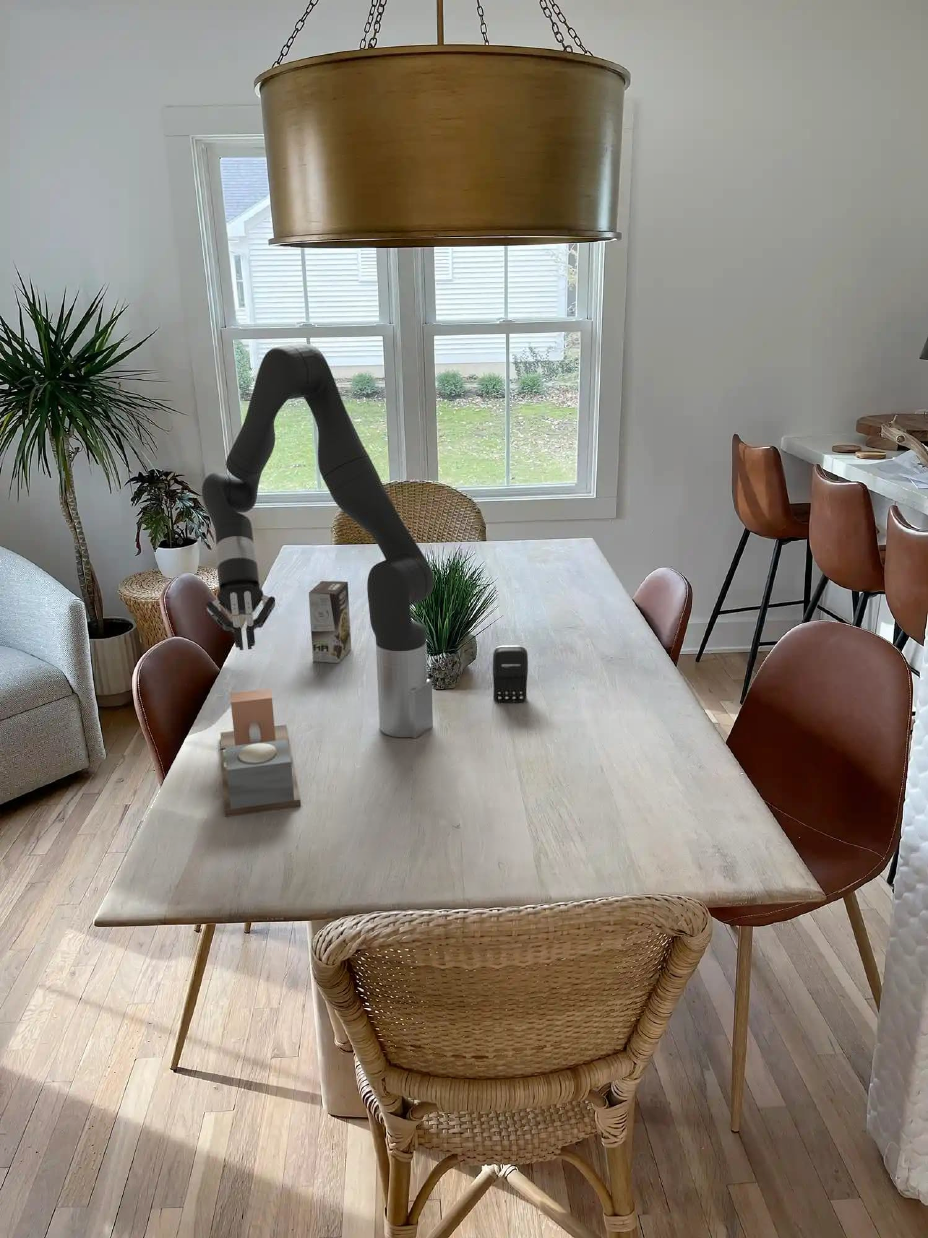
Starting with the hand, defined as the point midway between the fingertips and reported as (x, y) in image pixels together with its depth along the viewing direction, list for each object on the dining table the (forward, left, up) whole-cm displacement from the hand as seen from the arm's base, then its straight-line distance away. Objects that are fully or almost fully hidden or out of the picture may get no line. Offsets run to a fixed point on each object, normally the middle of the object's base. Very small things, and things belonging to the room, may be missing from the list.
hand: (245, 647), depth 180 cm
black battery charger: (-37, -34, -16) cm, 53 cm away
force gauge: (-13, +13, -16) cm, 24 cm away
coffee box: (+9, -36, -16) cm, 40 cm away
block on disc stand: (-9, +11, -14) cm, 20 cm away
